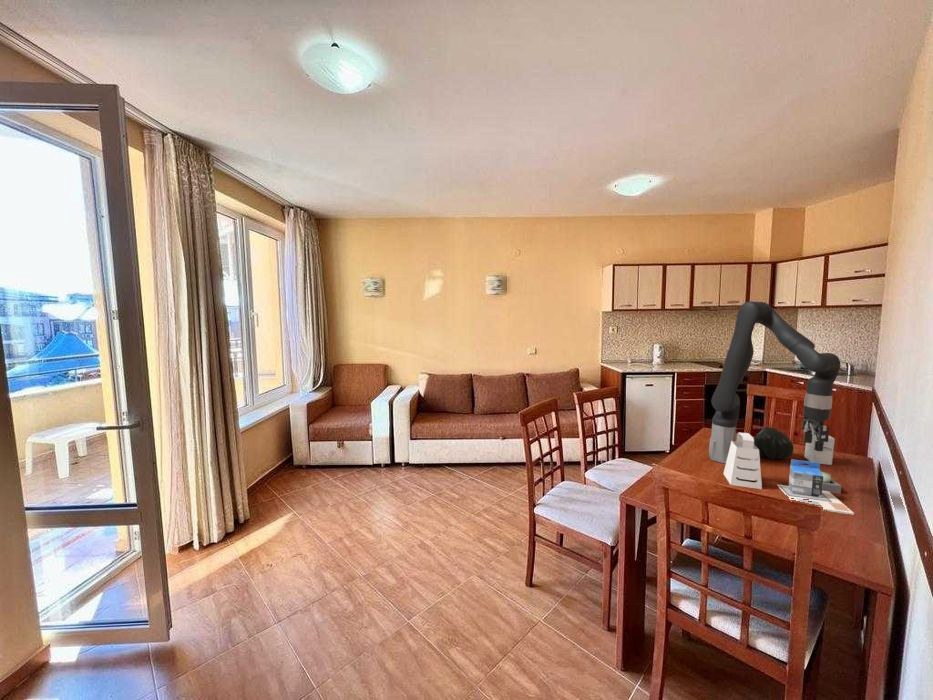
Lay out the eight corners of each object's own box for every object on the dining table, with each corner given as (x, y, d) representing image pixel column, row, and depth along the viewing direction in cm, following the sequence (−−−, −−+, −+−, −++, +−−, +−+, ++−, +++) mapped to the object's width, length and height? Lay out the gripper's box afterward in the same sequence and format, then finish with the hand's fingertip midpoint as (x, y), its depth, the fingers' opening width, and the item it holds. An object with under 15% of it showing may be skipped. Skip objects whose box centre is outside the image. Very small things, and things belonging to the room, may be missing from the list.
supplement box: (811, 463, 167) (814, 436, 166) (803, 456, 174) (806, 431, 172) (832, 465, 164) (835, 438, 163) (823, 459, 171) (826, 433, 170)
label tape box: (791, 493, 140) (794, 462, 138) (787, 488, 143) (790, 458, 142) (821, 498, 136) (825, 466, 134) (816, 493, 140) (820, 462, 138)
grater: (752, 477, 154) (756, 432, 152) (761, 489, 144) (766, 441, 142) (723, 473, 158) (726, 429, 156) (730, 484, 148) (734, 437, 146)
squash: (805, 454, 163) (790, 423, 172) (768, 454, 166) (755, 423, 174) (787, 464, 175) (774, 435, 183) (753, 464, 177) (741, 434, 186)
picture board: (796, 506, 132) (796, 504, 132) (777, 485, 147) (777, 484, 147) (854, 514, 126) (854, 513, 126) (828, 492, 141) (828, 491, 141)
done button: (818, 484, 144) (819, 475, 144) (812, 480, 148) (813, 470, 148) (832, 486, 142) (833, 477, 142) (826, 481, 147) (827, 472, 146)
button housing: (814, 489, 143) (814, 482, 143) (804, 480, 151) (805, 473, 150) (840, 493, 140) (841, 486, 140) (829, 484, 148) (829, 477, 147)
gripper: (796, 400, 144) (792, 439, 146) (813, 409, 131) (809, 452, 133) (820, 401, 141) (816, 441, 143) (841, 411, 128) (835, 455, 130)
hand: (812, 446), depth 138 cm, fingers open, 8 cm apart
